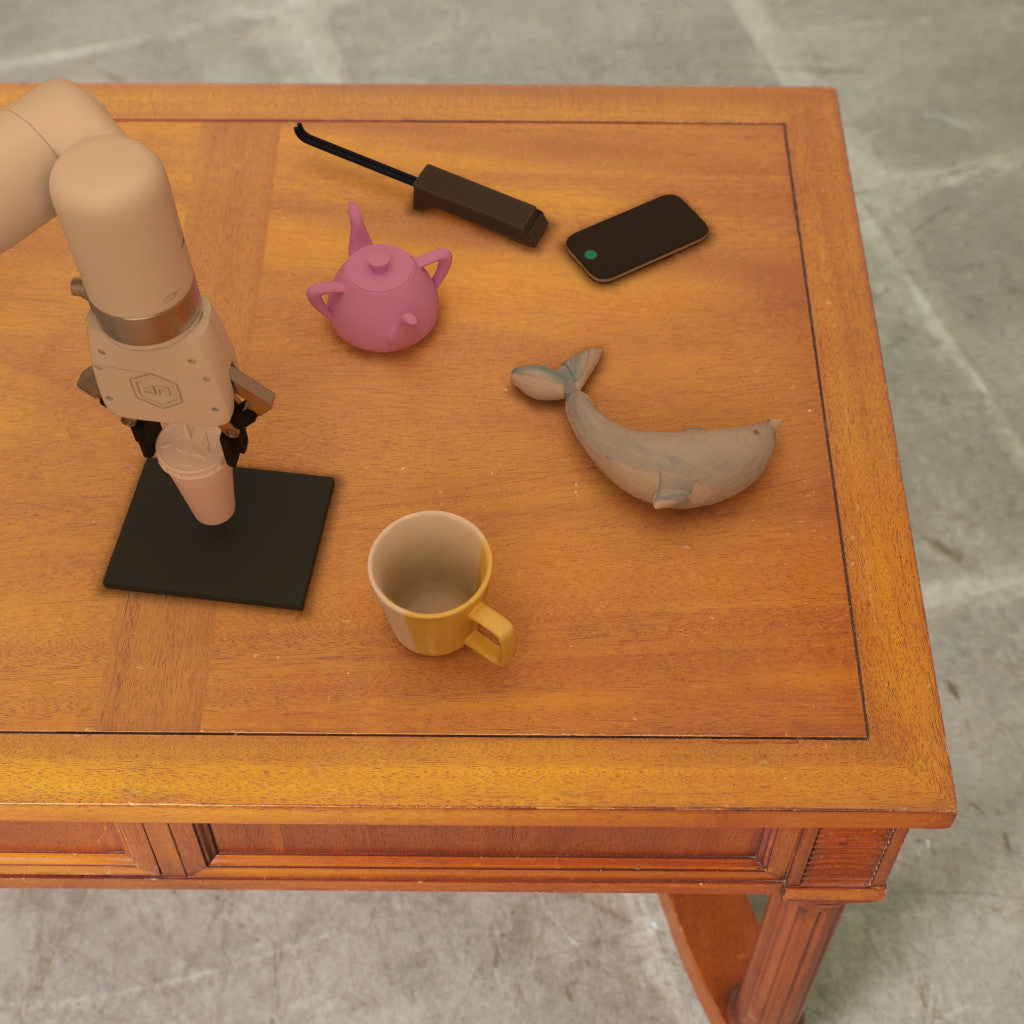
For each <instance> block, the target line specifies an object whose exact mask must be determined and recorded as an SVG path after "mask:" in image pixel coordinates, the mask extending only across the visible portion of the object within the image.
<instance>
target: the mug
mask: <svg viewBox="0 0 1024 1024" xmlns="http://www.w3.org/2000/svg"><path fill="white" fill-rule="evenodd" d="M368 552H369V553H368V555H367V563H366V570H367V577H368V580H369V584H370V587H371V589H372V591H373V593H374V596H375V598H376V600H377V601H378V603H379V606H380V608H381V610H382V612H383V613H384V616H385V617H386V620H387V622H388V624H389V626H390V629H391V630H392V632H393V634H394V636H395V639H397V640H398V642H399V643H400V644H401V645H402V646H404V647H405V649H408V650H409V651H410V652H414V653H416V654H419V655H422V656H423V655H424V656H429V657H430V656H432V657H433V656H434V657H436V656H437V657H439V656H443V655H449V654H451V653H454V652H455V651H458V650H460V649H461V648H463V647H464V646H467V647H468V648H470V649H471V650H473V651H474V652H475V653H477V654H479V655H480V656H482V657H483V658H484V659H486V660H487V661H489V662H490V663H492V664H494V665H495V666H497V667H500V668H501V667H502V668H503V667H505V666H507V665H508V664H509V663H510V662H511V661H512V659H513V658H514V656H515V653H516V650H517V649H516V648H517V636H516V635H517V634H516V630H515V627H514V625H513V624H512V622H511V621H509V619H507V618H506V617H505V616H503V615H502V614H501V613H499V612H498V611H496V610H495V609H494V608H492V607H491V606H489V605H488V604H486V603H485V602H486V599H487V596H488V591H489V588H490V585H491V581H492V574H493V570H494V569H493V568H494V558H493V553H492V548H491V545H490V543H489V540H488V539H487V537H486V535H485V534H484V533H483V531H482V530H481V529H480V528H479V527H477V526H476V525H475V523H473V522H472V521H470V520H469V519H467V518H466V517H463V516H461V515H459V514H457V513H452V512H449V511H444V510H421V511H416V512H412V513H408V514H406V515H404V516H400V517H399V518H396V520H394V521H392V522H391V523H389V524H388V525H386V527H384V528H383V529H382V530H381V532H379V534H378V535H377V537H376V538H375V540H374V541H373V543H372V545H371V547H370V549H369V551H368ZM479 625H480V626H482V628H484V629H485V630H487V631H488V632H490V633H491V634H492V635H493V636H494V637H496V638H497V640H498V642H499V645H498V644H497V643H496V642H494V641H492V640H491V639H490V638H488V637H487V636H485V634H484V633H481V632H480V631H479V630H478V629H479Z"/></svg>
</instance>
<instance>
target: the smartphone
mask: <svg viewBox="0 0 1024 1024" xmlns="http://www.w3.org/2000/svg"><path fill="white" fill-rule="evenodd" d="M709 231H710V230H709V226H708V225H707V223H706V221H704V220H703V219H702V218H701V217H700V216H699V215H698V213H697V212H695V211H694V210H693V208H692V207H691V206H690V205H689V204H687V202H686V201H685V200H684V199H683V198H681V197H680V196H679V195H677V194H663V195H661V196H658V197H656V198H654V199H652V200H648V201H646V202H644V203H642V204H640V205H637V206H635V207H632V208H629V209H628V210H625V211H623V212H621V213H618V214H616V215H614V216H611V217H609V218H607V219H606V218H605V219H604V220H602V221H600V222H597V223H595V224H593V225H590V226H588V227H586V228H582V229H581V230H579V231H576V232H574V233H573V234H571V235H570V236H568V237H567V239H566V240H565V246H566V247H565V248H566V250H567V252H568V253H569V254H570V255H571V257H572V258H573V259H574V260H575V262H577V264H578V265H579V266H580V267H581V268H582V270H583V271H585V273H586V274H587V275H588V276H589V277H591V279H592V280H593V281H595V282H597V283H608V282H613V281H615V280H617V279H619V278H621V277H624V276H626V275H628V274H631V273H633V272H635V271H638V270H639V269H642V268H644V267H646V266H649V265H651V264H653V263H656V262H657V261H660V260H662V259H664V258H666V257H669V256H671V255H673V254H676V253H678V252H680V251H682V250H684V249H687V248H689V247H691V246H693V245H696V244H698V243H701V242H702V241H704V240H705V239H706V238H707V236H708V234H709Z"/></svg>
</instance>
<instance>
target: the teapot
mask: <svg viewBox="0 0 1024 1024" xmlns="http://www.w3.org/2000/svg"><path fill="white" fill-rule="evenodd" d="M347 212H348V216H349V224H350V231H349V232H350V233H349V240H348V249H347V250H348V257H347V259H346V260H345V261H344V263H342V265H341V266H340V267H339V269H338V270H337V272H336V274H335V275H334V277H333V279H332V281H321V282H317V283H313V284H311V285H310V286H308V287H307V289H306V293H305V294H306V298H307V300H308V302H309V304H310V305H311V306H312V307H313V309H315V310H316V311H317V312H319V313H320V314H321V315H322V316H323V317H325V318H326V319H328V320H329V323H330V325H331V327H332V329H333V330H334V332H335V333H336V334H337V335H338V336H339V338H341V339H342V340H343V341H344V342H346V343H347V344H348V345H351V346H352V347H355V348H357V349H360V350H363V351H366V352H370V353H371V352H372V353H379V354H383V353H384V354H385V353H386V354H387V353H394V352H399V351H402V350H405V349H407V348H409V347H412V346H413V345H415V344H417V343H419V342H420V341H422V340H423V339H424V338H425V337H427V336H428V335H429V334H430V333H431V331H432V330H433V328H434V327H435V325H436V324H437V321H438V318H439V315H440V311H441V310H440V309H441V307H440V296H439V293H438V289H439V288H440V286H441V285H442V283H443V281H444V280H445V278H446V276H447V274H449V271H450V270H451V266H452V264H453V253H452V250H450V249H449V248H446V247H440V248H436V249H432V250H430V251H427V252H425V253H423V254H421V255H419V256H417V257H415V256H413V255H412V254H411V253H409V252H408V251H406V250H404V249H403V248H401V247H399V246H397V245H394V244H388V243H373V241H372V238H371V236H370V235H369V231H368V229H367V228H366V226H365V223H364V219H363V217H362V213H361V210H360V207H359V205H358V204H357V202H355V201H354V200H350V201H348V204H347ZM434 263H437V266H436V270H435V271H434V273H433V275H432V277H431V275H430V273H429V272H428V270H427V269H426V268H425V267H428V266H430V265H432V264H434ZM324 295H328V296H327V304H326V303H325V301H324V300H323V298H322V297H323V296H324Z"/></svg>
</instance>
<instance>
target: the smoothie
mask: <svg viewBox="0 0 1024 1024" xmlns="http://www.w3.org/2000/svg"><path fill="white" fill-rule="evenodd" d="M220 434H221V429H220V428H219V427H218V426H214V427H207V426H194V425H184V424H174V423H166V425H164V426H163V427H162V430H161V432H160V433H159V435H158V437H157V439H156V444H155V451H156V452H155V455H156V458H157V459H158V462H159V464H160V466H161V467H162V469H163V470H164V471H165V472H167V473H168V474H169V475H170V476H171V477H172V479H173V481H174V482H175V484H176V486H177V487H178V489H179V491H180V492H181V494H182V496H183V497H184V499H185V501H186V502H187V504H188V506H189V507H190V509H191V511H192V512H193V514H194V516H195V517H196V519H197V520H198V521H200V522H201V523H203V524H207V525H217V524H221V523H223V522H225V521H227V520H228V519H229V518H230V517H231V516H232V515H233V513H234V510H235V496H234V483H233V471H232V467H229V465H227V464H226V460H225V457H224V454H223V450H222V447H221V444H220V440H219V438H220Z"/></svg>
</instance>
